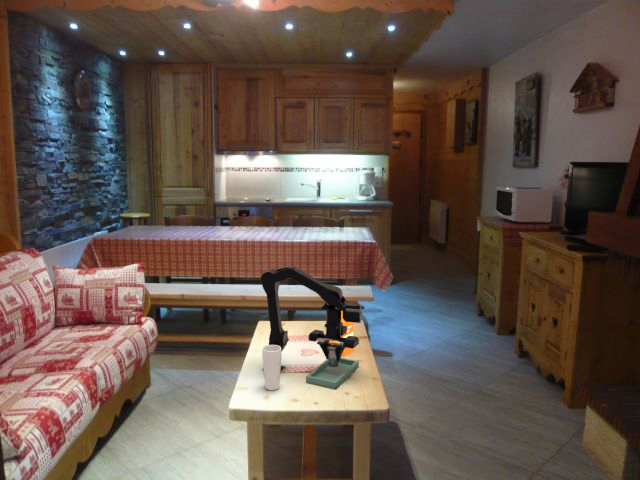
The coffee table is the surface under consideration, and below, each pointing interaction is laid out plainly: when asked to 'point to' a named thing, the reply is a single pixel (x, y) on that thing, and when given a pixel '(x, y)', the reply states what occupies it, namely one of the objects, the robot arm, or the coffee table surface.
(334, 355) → the grey flanged cylinder
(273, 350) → the drinking glass
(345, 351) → the orange juice
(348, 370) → the tray
